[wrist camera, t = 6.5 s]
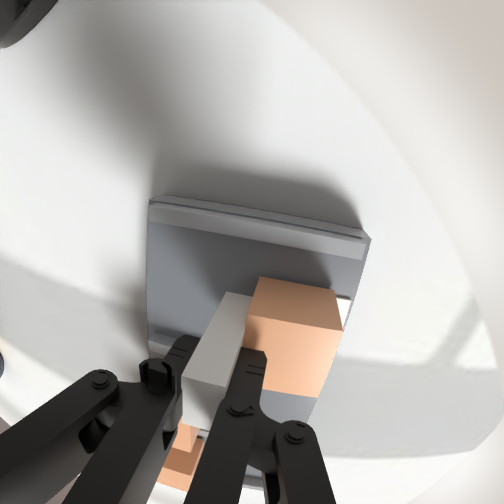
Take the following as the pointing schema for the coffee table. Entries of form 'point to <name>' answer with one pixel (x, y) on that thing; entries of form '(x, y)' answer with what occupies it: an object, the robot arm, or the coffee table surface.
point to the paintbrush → (1, 366)
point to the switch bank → (240, 274)
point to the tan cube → (181, 466)
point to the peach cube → (185, 437)
